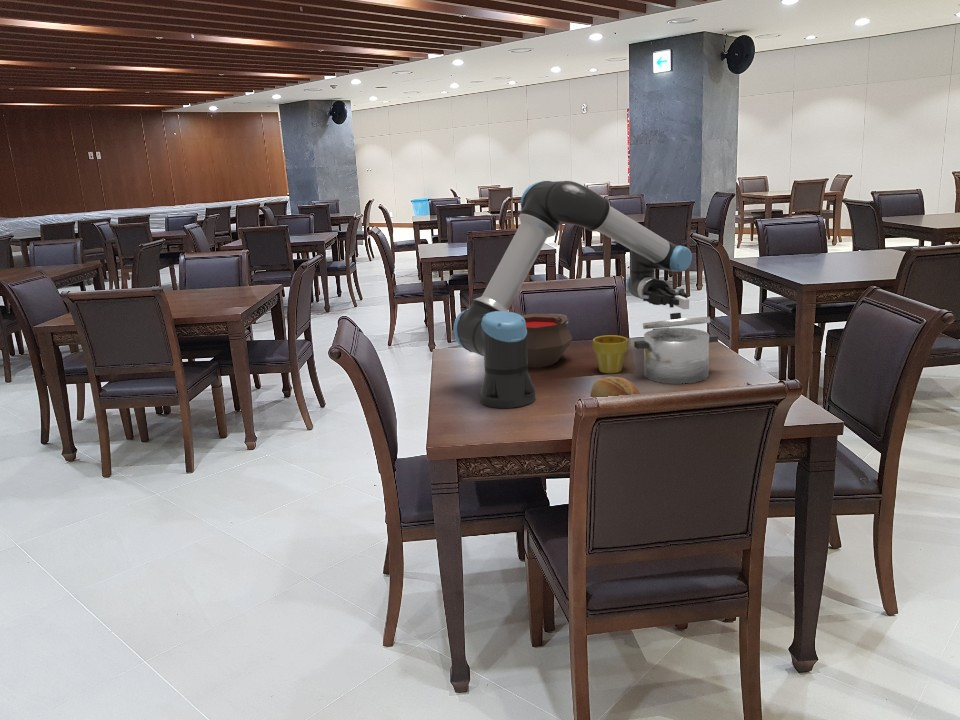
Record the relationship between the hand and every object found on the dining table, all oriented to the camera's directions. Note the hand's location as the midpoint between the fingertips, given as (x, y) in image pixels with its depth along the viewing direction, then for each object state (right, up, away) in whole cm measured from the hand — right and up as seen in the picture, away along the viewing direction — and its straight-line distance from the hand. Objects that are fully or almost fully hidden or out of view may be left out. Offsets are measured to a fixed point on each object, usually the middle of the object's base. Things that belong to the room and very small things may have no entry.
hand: (686, 304), depth 200 cm
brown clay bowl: (-39, -16, +35) cm, 55 cm away
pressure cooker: (0, -19, +13) cm, 23 cm away
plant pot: (-17, -19, +20) cm, 33 cm away
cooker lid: (-1, -5, +8) cm, 10 cm away
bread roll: (-22, -28, -12) cm, 37 cm away
